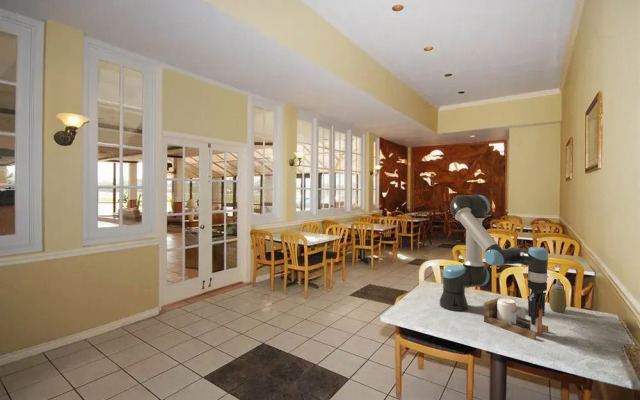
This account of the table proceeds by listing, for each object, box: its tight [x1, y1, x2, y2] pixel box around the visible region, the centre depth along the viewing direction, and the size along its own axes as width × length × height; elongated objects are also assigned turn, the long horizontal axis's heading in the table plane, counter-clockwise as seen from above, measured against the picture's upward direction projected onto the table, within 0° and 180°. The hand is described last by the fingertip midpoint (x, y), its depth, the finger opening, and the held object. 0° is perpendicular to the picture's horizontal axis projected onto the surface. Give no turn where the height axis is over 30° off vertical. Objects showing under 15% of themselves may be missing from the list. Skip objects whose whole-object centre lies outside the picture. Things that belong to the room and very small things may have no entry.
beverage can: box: [497, 297, 517, 324], centre depth 162 cm, size 8×8×12 cm
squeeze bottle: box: [548, 278, 568, 313], centre depth 179 cm, size 8×8×18 cm
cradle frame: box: [483, 297, 549, 341], centre depth 158 cm, size 24×14×10 cm, turn 33°
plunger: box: [511, 308, 543, 337], centre depth 153 cm, size 10×10×12 cm
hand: (536, 329), depth 150 cm, fingers closed on plunger, 3 cm apart
